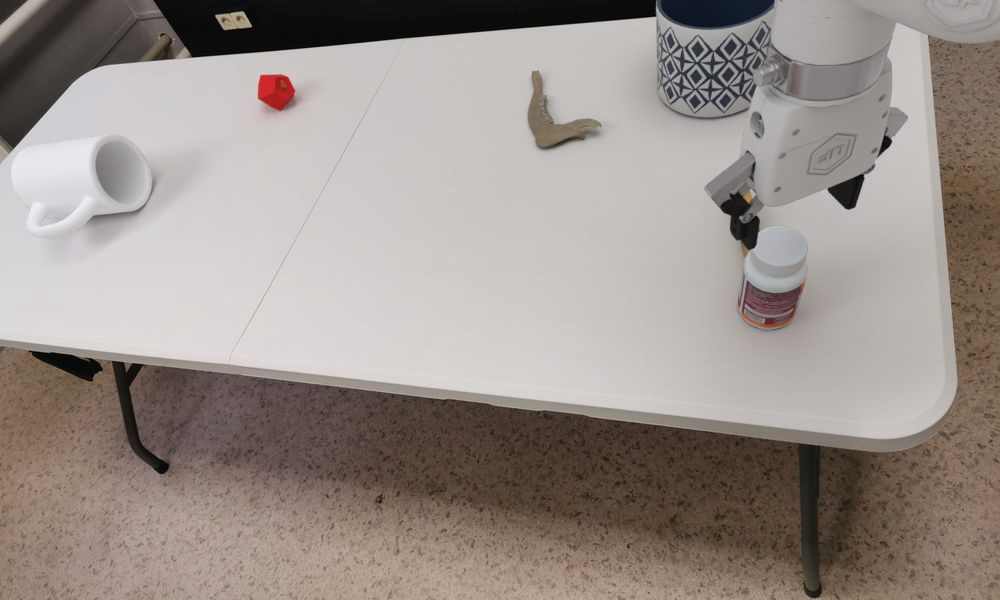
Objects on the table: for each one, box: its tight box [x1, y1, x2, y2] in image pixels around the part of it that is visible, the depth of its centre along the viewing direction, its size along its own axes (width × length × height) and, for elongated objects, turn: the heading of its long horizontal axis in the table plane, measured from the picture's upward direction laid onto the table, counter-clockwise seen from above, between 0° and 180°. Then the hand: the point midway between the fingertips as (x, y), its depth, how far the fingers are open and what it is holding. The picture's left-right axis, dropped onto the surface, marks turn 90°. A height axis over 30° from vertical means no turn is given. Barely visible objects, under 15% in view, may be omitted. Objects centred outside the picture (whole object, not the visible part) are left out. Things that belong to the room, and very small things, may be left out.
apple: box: [257, 73, 296, 112], centre depth 113 cm, size 7×7×8 cm
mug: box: [10, 133, 153, 240], centre depth 103 cm, size 19×16×13 cm
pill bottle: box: [737, 225, 809, 330], centre depth 65 cm, size 6×6×11 cm
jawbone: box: [527, 69, 603, 148], centre depth 96 cm, size 9×20×2 cm, turn 28°
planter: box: [655, 0, 775, 118], centre depth 87 cm, size 16×16×14 cm
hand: (791, 219), depth 57 cm, fingers open, 9 cm apart
